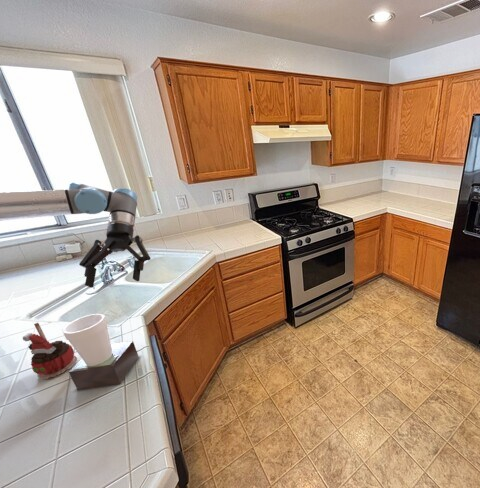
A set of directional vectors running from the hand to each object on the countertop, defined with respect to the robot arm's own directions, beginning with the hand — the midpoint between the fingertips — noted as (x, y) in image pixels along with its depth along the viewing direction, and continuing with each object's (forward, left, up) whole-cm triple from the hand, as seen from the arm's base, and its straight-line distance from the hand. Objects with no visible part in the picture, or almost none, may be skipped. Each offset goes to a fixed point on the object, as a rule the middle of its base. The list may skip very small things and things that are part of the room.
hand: (112, 283), depth 86 cm
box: (-3, -11, -27) cm, 29 cm away
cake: (-22, -5, -27) cm, 35 cm away
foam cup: (-3, -12, -20) cm, 23 cm away
